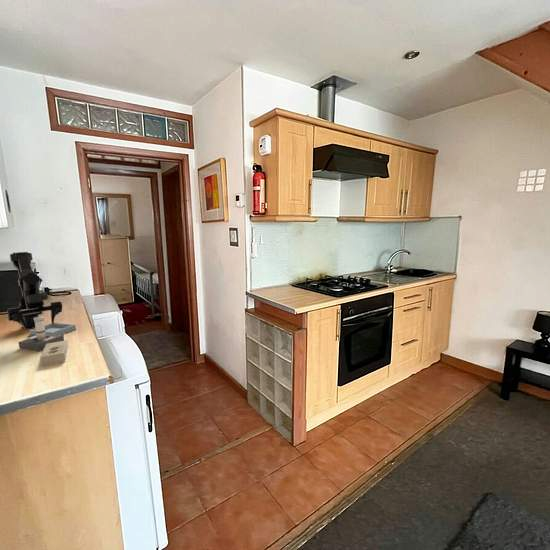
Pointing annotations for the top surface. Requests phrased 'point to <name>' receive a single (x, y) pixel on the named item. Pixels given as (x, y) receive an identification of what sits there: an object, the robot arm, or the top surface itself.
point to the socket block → (39, 342)
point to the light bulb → (40, 328)
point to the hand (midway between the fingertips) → (39, 326)
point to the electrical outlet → (54, 353)
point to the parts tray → (55, 328)
